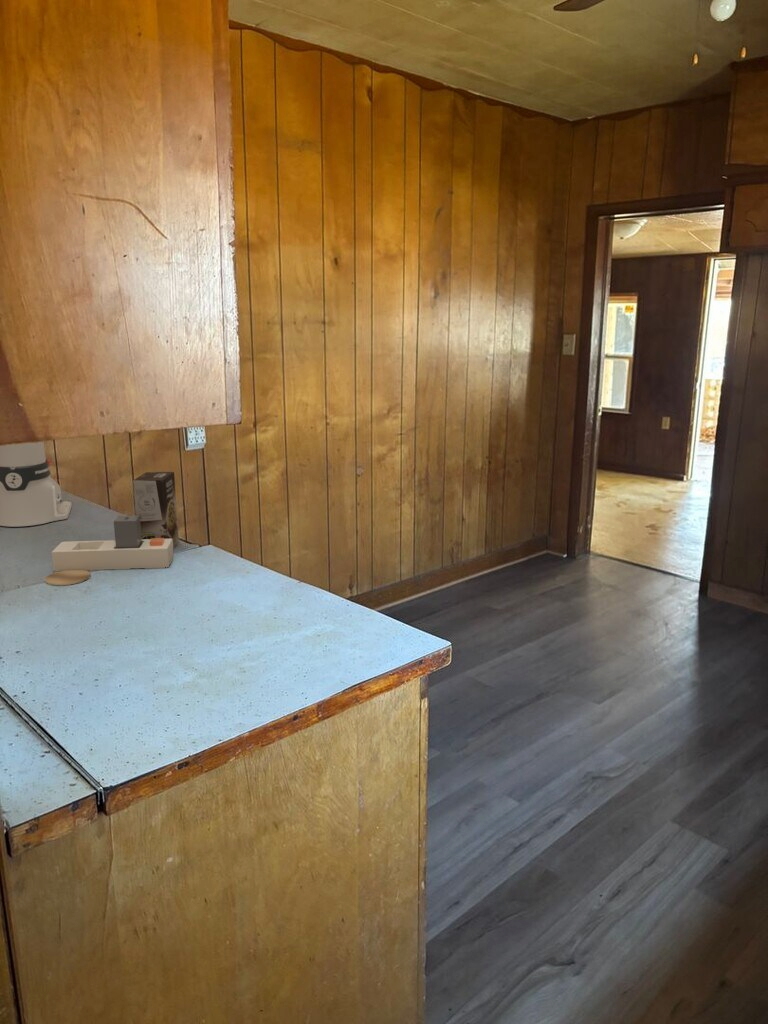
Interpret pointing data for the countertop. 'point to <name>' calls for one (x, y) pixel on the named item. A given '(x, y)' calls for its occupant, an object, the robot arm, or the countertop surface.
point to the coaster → (67, 577)
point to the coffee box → (156, 505)
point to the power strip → (112, 555)
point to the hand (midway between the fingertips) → (100, 351)
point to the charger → (127, 532)
